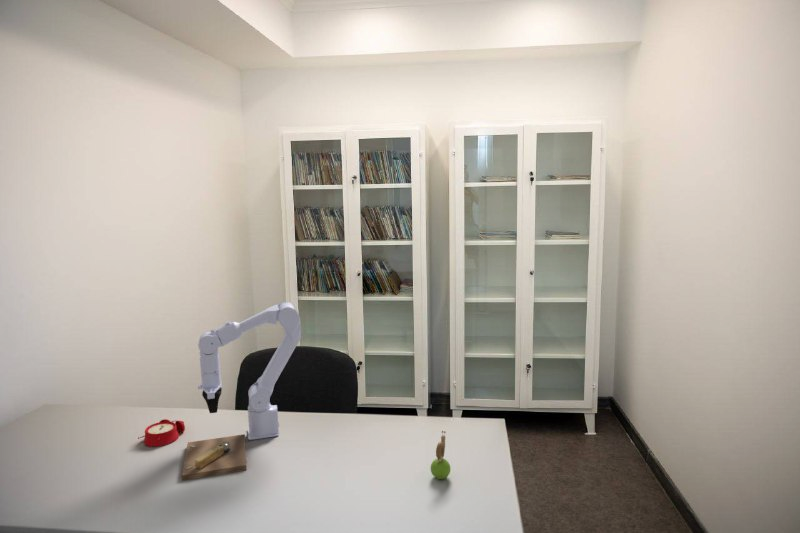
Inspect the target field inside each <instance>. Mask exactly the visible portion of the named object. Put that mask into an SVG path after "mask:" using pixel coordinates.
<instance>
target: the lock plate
mask: <svg viewBox="0 0 800 533" xmlns="http://www.w3.org/2000/svg"><path fill="white" fill-rule="evenodd" d="M225 441H227V442H229V443H230V451H229V452H228V453H224V454H223V455H221V456H219V457H218V458H216V459H215V460H213V461H212V462H210V463H209V464H207V465H205V466H204V467H202V468H201V469H200V468H196V467H195V459H197V458H199V457H200V456H202V455H203V454H205V453H207V452H208V451H210V450H212V449H213V448H215V447H216V446H218V444H219V443H221V442H225ZM185 450H186V451H185V456H184V462H183V468H182V474H181V480H182V481H187V480H193V479H200V478H204V477H205V478H206V477H212V476H217V475H224V474H230V473H235V472H236V473H237V472H242V471H243V472H244V471H247V450H246V435H245V434H238V435H230V436H222V437H217V438H216V437H215V438H209V439H203V440H195V441H194V440H193V441H190V442H189V441H188V442H187V444H186V449H185Z"/></svg>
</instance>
